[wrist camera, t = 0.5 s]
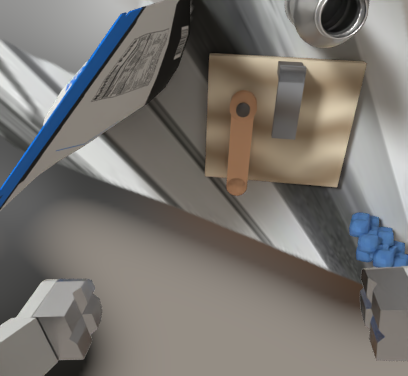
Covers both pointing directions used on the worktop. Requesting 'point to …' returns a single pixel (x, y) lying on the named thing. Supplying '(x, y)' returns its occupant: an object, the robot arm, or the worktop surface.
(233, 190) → the link
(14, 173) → the protein powder
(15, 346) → the robot arm
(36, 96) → the worktop surface
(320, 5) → the plastic bottle
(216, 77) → the board
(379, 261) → the grapes
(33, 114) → the worktop surface
